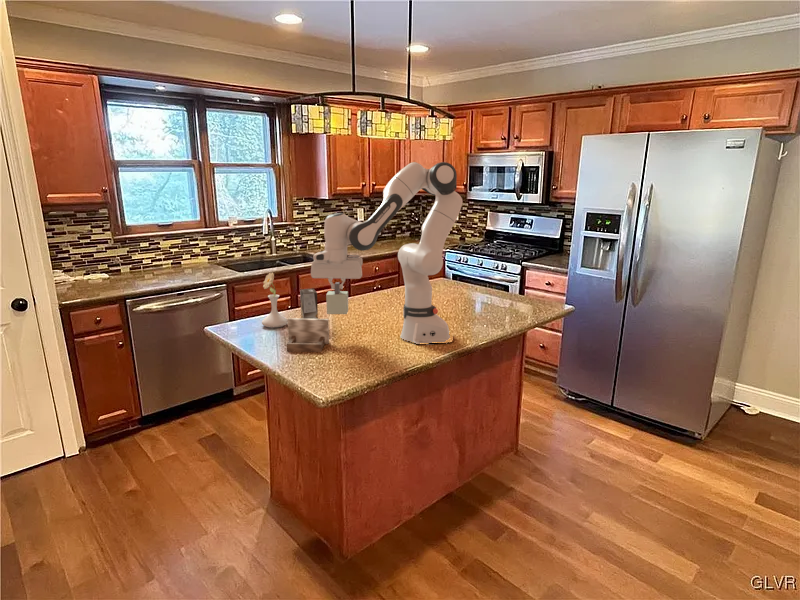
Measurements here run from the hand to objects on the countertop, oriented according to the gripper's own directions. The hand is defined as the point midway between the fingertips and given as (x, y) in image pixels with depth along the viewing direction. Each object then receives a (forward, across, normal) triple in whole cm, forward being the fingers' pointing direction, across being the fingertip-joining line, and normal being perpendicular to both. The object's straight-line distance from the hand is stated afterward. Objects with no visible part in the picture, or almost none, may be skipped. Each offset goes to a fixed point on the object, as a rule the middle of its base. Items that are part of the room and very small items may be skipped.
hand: (337, 289), depth 190 cm
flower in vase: (+21, +30, -16) cm, 40 cm away
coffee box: (+22, +15, -18) cm, 32 cm away
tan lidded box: (+21, +11, +10) cm, 26 cm away
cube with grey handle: (+10, 0, 0) cm, 10 cm away
